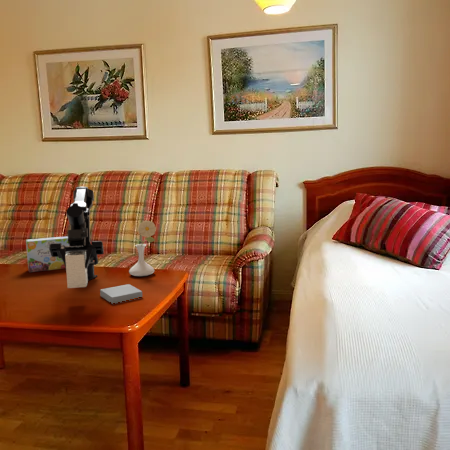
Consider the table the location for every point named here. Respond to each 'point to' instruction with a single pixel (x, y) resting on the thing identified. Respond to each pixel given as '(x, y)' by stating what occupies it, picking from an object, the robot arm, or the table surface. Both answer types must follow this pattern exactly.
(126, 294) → the grey block
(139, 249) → the flower in vase
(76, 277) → the cream block
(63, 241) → the snack box
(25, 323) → the table surface
